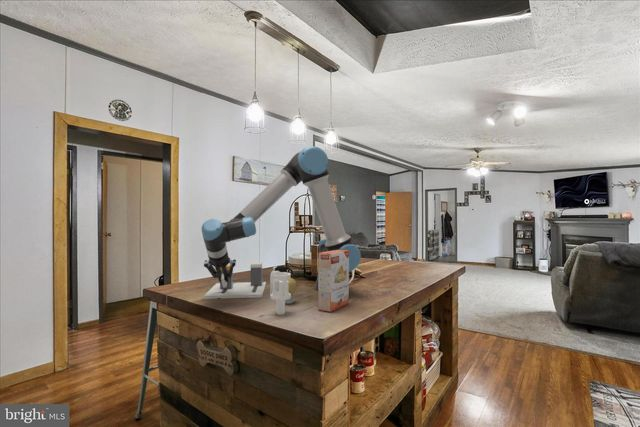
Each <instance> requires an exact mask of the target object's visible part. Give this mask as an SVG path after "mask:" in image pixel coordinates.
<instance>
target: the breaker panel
mask: <svg viewBox="0 0 640 427" xmlns="http://www.w3.org/2000/svg"><path fill="white" fill-rule="evenodd" d="M266 285H267V281H262V285H259V286H251V281H249V282H247V281H246V282H233V287H232V289H220V282H216V283H215V284H214V285H213V286H212V287H211V288H210V289H209V290H208V291H207V292H206V293H205V294H203V296H202V297H203V298H202V299H203V300H214V299H217V298H221V299H246V298H249V299H251V298H253V299H254V298H263V295H264V293H265V289H266ZM217 300H218V299H217Z"/></svg>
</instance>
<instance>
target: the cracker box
mask: <svg viewBox="0 0 640 427" xmlns="http://www.w3.org/2000/svg"><path fill="white" fill-rule="evenodd" d="M317 261H318V265H317V266H318V272H317V274H318V275H317V277H318V290H317V293H318V294H317V297H318V298H317V310H318V311H323V312H328V313H333V312H334V311H336V310H338V309H340V308H342V307H345V306H347V305H349V303H350V302H349V300H350V298H349V295H350V294H349V290H350V288H349V286H350V284H349V283H350V281H349V278H350V272H349V251H348V250H333V251H327V252H321V253H319V252H318V260H317Z"/></svg>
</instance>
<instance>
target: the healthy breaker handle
mask: <svg viewBox="0 0 640 427" xmlns="http://www.w3.org/2000/svg"><path fill="white" fill-rule="evenodd" d="M250 282H251V286H259V285H262V282H263V263H262V262H251V263H250Z"/></svg>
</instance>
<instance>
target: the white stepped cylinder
mask: <svg viewBox="0 0 640 427" xmlns="http://www.w3.org/2000/svg"><path fill="white" fill-rule="evenodd" d="M269 276H270V278H269V279H271V282H273V293H272V294H271V295H270V294H269V296H270V297H269V298H270V299H271V300H273V301H275V302H276V303H275V304H276V307H275V308H276V311H275V313H276V315H279V316H280V315H281V316H282V315H283V316H284V315H285V314H286V304H285V300H287V299H290V298H291V294H290V293H289V290H288V281H287V278H292V277H291V276H292V274H291V273H290V272H280V271H274V272H273V271H271V272H270V275H269Z"/></svg>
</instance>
